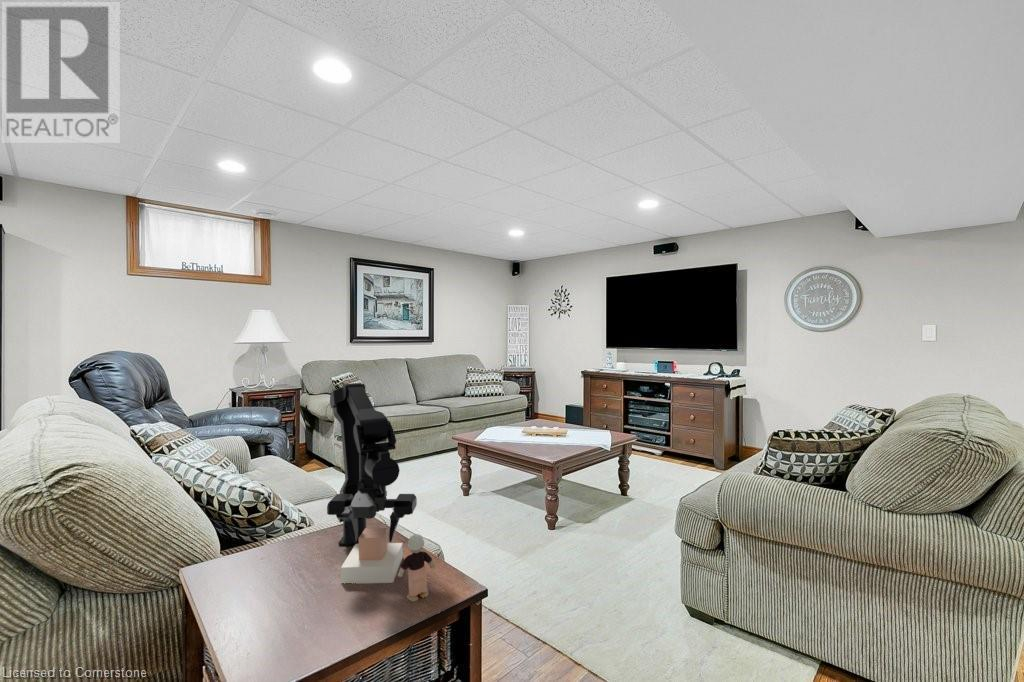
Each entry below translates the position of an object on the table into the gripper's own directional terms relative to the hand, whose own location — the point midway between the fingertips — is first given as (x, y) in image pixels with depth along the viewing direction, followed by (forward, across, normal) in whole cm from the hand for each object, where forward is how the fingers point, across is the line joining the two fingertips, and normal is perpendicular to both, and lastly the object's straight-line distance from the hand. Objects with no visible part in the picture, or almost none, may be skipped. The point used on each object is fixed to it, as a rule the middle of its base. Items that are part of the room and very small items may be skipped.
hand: (373, 541), depth 106 cm
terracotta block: (+3, 0, 0) cm, 3 cm away
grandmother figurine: (+7, +12, -11) cm, 17 cm away
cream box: (+7, 0, 0) cm, 7 cm away
